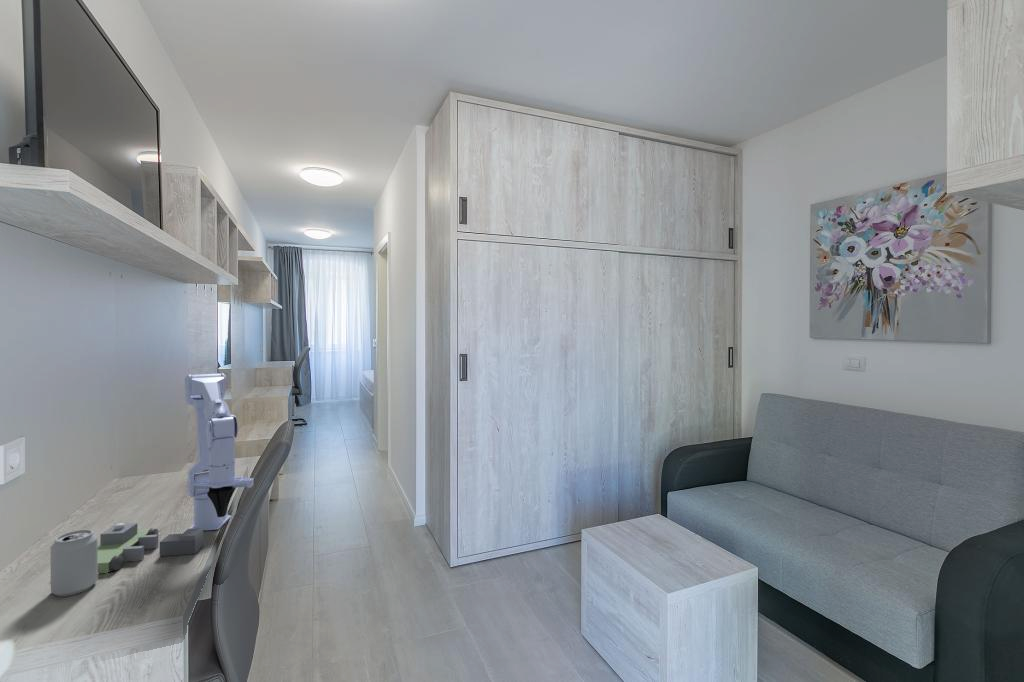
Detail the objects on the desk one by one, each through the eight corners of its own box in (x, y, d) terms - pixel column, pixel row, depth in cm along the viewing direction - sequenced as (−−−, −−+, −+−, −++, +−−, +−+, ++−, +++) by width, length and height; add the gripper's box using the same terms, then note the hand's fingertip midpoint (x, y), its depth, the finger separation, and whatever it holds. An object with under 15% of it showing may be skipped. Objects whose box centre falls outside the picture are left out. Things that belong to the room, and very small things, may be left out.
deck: (108, 541, 124) (108, 518, 124) (169, 537, 127) (169, 514, 127) (55, 577, 106) (55, 550, 106) (127, 571, 109) (127, 545, 109)
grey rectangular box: (168, 548, 121) (168, 530, 120) (203, 545, 122) (203, 528, 122) (159, 556, 116) (159, 537, 116) (195, 553, 118) (195, 535, 118)
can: (62, 582, 104) (61, 529, 104) (104, 577, 107) (103, 525, 106) (42, 601, 97) (42, 544, 97) (87, 594, 100) (87, 539, 99)
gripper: (182, 469, 115) (183, 523, 115) (246, 466, 118) (246, 519, 118) (196, 461, 122) (196, 512, 122) (256, 459, 125) (256, 509, 125)
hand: (221, 515), depth 121 cm, fingers closed
